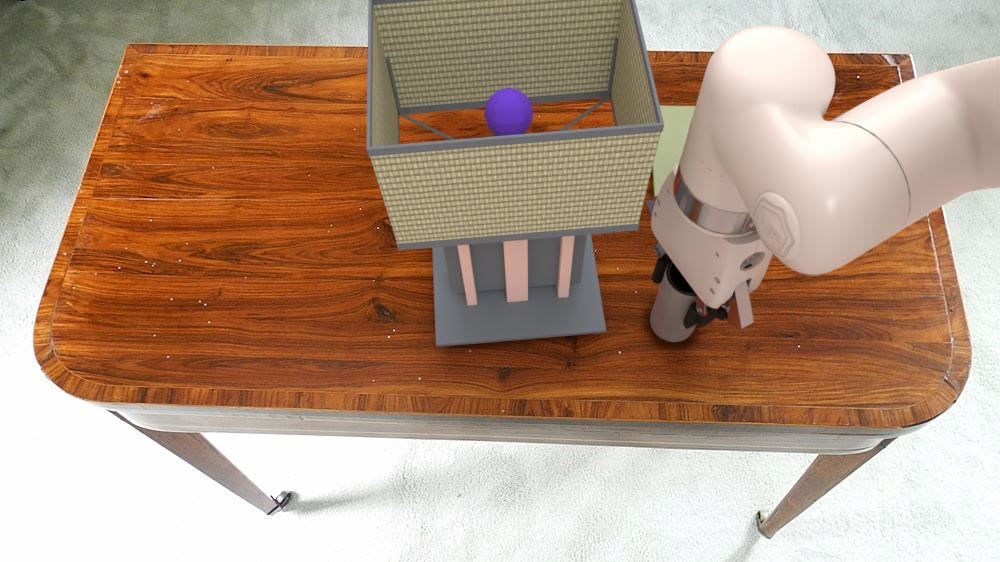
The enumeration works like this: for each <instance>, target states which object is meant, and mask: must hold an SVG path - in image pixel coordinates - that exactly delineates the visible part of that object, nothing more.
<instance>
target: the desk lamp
mask: <svg viewBox="0 0 1000 562" xmlns="http://www.w3.org/2000/svg"><path fill="white" fill-rule="evenodd" d="M367 3H368V5H367V6H368V7H367V73H366V74H367V80H366V81H367V83H366V87H367V88H366V90H367V91H366V152H367V156H368V158H370V162H371V163H372V164H371V165H372V167H373V170H374V174H375V177H376V181H377V184H378V186H379V189H380V193H381V196H382V199H383V203H384V205H385V209H386V212H387V216H388V219H389V220H390V222H389V223H390V225H391V227H392V231H393V234H394V238H395V240H396V248H397V250H398V251H407V250H409V251H410V250H421V249H432V273H433V274H432V275H433V277H432V278H433V302H434V304H433V305H434V327H435V347H437V348H438V347H439V348H440V347H452V346H464V345H474V344H484V343H485V344H487V343H498V342H499V343H500V342H511V341H512V342H513V341H521V340H522V341H523V340H535V339H546V338H557V337H558V338H559V337H568V336H569V337H570V336H580V335H582V336H583V335H593V334H603V333H604V334H605V333H606V332H607V326H606V321H605V314H604V308H603V301H602V297H601V296H602V295H601V289H600V283H599V275H598V270H597V264H596V263H597V262H596V257H595V251H594V245H593V237H592V235H599V234H609V233H612V234H613V233H624V232H634V231H635V232H637V231H639V227H640V219H641V216H642V211H643V206H644V203H645V199H646V195H647V190H648V187H649V183H650V178H651V176H652V175H651V174H652V172H653V169H652V167H653V162H654V158H655V154H656V150H657V146H658V142H659V138H660V134H661V132H663V128H664V122H663V117H662V113H661V109H660V106H661V104H660V101H659V97H658V91H657V88H656V84H655V78H654V75H653V71H652V67H651V62H650V58H649V53H648V49H647V44H646V42H645V41H646V40H645V35H644V32H643V27H642V23H641V19H640V14H639V10H638V6H637V2H636V0H368V2H367ZM591 99H592V100H593V99H601V100H600V101H598V102H597V103H596V104H594V105H593V106H591V107H590V108H589V109H587V110H585V111H584V112H583V113H581V114H580V115H579V116H577V117H576V118H574V119H572V121H570V122H569V123H568V124H566V125H565V126H563V127H562V128H561V129H559V130H554V131H542V132H531V133H530V132H529V133H526V132H527V131H528V129H529V128H530V127H531V125H532V122H533V118H534V108H533V104H544V103H545V104H546V103H556V102H569V101H578V100H579V101H580V100H591ZM608 99H609V101H610V106H611V107H610V108H611V112H612V117H613V122H614V126H601V127H591V128H579V129H569V128H571V127H573V125H575V124H576V123H577V122H579V121H581V120H582V119H584V118H585V117H586V116H588V115H589V114H590V113H592V112H593V111H594V110H596V109H597V108H599V107H600V106H602V105H603V104H604V103H605V102H607V101H608ZM483 108H485V109H484V114H483V116H484V119H485V122H486V125H487V127H488V129H489V131H491V132H492V133H493V135H494V136H484V137H472V138H471V137H470V138H459V139H457V138H454V137H452V136H450V135H448V134H446V133H444V132H442V131H440V130H438V129H435V128H434V127H431V126H429V125H428V124H425V123H423V122H422V121H420V120H417V119H415V118H413V117H411V116H410V115H412V114H425V113H435V112H436V113H438V112H449V111H461V110H473V109H483ZM400 116H401V117H402V118H403V119H406V120H407V121H409V122H411V123H413V124H416V125H418V126H420V127H421V128H424V129H426V130H428V131H430V132H432V133H434V134H437V135H438V136H441V137H443V138H445V139H446V140H435V141H423V142H411V143H400V141H401V140H400V135H401V134H400Z"/></svg>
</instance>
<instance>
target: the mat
mask: <svg viewBox="0 0 1000 562" xmlns="http://www.w3.org/2000/svg"><path fill="white" fill-rule="evenodd" d="M695 106H696V105H660V109H661V113H662V117H663V122H664V128H663V132H661V134H660V138H659V142H658V146H657V150H656V154H655V158H654V162H653V167H652V185H653V187H652V188H653V197H655V196H657V195H658V194H659V192H660V189H661V187H662V185H663V183H664V181H665V180H666V178H667V177H668V175H669V174H670V172H671V171H672V169H673V168H674V167H675V166H676V164H677V163H678V162H679V161H680V158H681V155H682V151H683V148H684V144H685V141H686V137H687V134H688V130H689V127H690V123H691V120H692V117H693V113H694V110H695Z"/></svg>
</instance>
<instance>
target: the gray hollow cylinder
mask: <svg viewBox="0 0 1000 562" xmlns="http://www.w3.org/2000/svg"><path fill="white" fill-rule="evenodd" d="M696 299H697V294H696V293H695V291H694V290H693V289H692V287H691V286H690V285H689V283H688V282H687V281H686V279H685V278H684V276H683V275H682V274H681V272H680V271H679V270H678V268H677V267H676V266H675V264H674V263H673V261H672V260H670V261H669V263H668V265H667V267H666V270H665V273H664V276H663V279H662V282H661V283H660V285H659V288H658V292H657V294H656V298H655V300H654V304H653V305H652V310H651V312H650V317H649V324H650V327H651V330H652V331H653V333H654V334H655V335H656V336H657V337H658V338H659V339H661V340H663V341H665V342H669V343H680V342H684V341H685V340H687V339H688V338H689V337H691V335H692V334H693V332H694V331H695V329H696V327H697V325H698V324H696V325H694V326H692V327H690V328H688V329H686V328H685V326H684V325H683V323H684V322H683V320H684V318H685V316H686V313H687V311H688V309H689V306H690V305H691V304H693V303H695V302H696Z"/></svg>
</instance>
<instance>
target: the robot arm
mask: <svg viewBox="0 0 1000 562" xmlns="http://www.w3.org/2000/svg"><path fill="white" fill-rule="evenodd" d="M835 88H836V72H835V68H834V64H833V62H832V61H831V57H830V56H829V55H828V53H827V51H826V50H825V49H824V48H823V47H822V46H821V45H820V44H819V43H818V42H816V41H815V40H814V39H813V38H811V37H809V35H806V34H804V33H802V32H800V31H798V30H795V29H792V28H789V27H784V26H781V25H780V26H779V25H757V26H751V27H747V28H744V29H742V30H739V31H738V32H736V33H734V34H731V35H730V36H729V37H727V38H726V39H724V40H723V41H722V42H721V44H720V45H719V46H718V47H717V48H716V49H715V50H714V52H713V53H712V55H711V56H710V58H709V60H708V64H707V66H706V68H705V72H704V75H703V79H702V82H701V85H700V90H699V93H698V95H697V96H698V97H697V100H696V104H695V105H694V106H695V110H694V113H693V117H692V120H691V123H690V127H689V130H688V134H687V137H686V141H685V144H684V148H683V151H682V155H681V158H680V161H679V162H678V163H677V164H676V166H675V167H674V168H673V169H672V171H671V172H670V174H669V175H668V177H667V178H666V180H665V181H664V183H663V185H662V187H661V189H660V192H659V194H658V195H657V196H655V197H654V196H653V197H651V198H648V199H646V201H645V203H646V206H647V209H648V211H649V215H650V228H651V232H652V233H653V235H654V237H655V239H656V241H657V242H656V244H655V246H654V247H653V250H654V253H655V255H656V256H657V259H656V262H655V265H654V269H653V272H652V274H651V281H652V282H653V284H654V285H659V284H661V282H662V279H663V276H664V273H665V270H666V267H667V265H668V263H669V261H670V260H672V261H673V263H674V264H675V266H676V267H677V268H678V270H679V271H680V272H681V274H682V275H683V276H684V278H685V279H686V281H687V282H688V283H689V285H690V286H691V287H692V289H693V290H694V291H695V293H696V294H697V299H696V302H695V303H693V304H691V305H690V306H689V309H688V311H687V313H686V316H685V318H684V320H683V322H684V323H683V325H684V326H685V328H686V329H688V328H690V327H692V326H694V325H696V324H697V325H698V326H699V328H703V327H705V326H707V325H708V324H711V323H712V322H713V321H714V320H715V319H717V320H720V321H724V320H726V321H727V323H728V324H730V325H731V326H733V327H735V329H738V330H739V331H741V330H744V329H745V328H747V327H749V326H751V325H753V324H754V323H755V319H754V314H753V307H752V303H751V297H750V294H752V292H754V291H755V290H758V288H759V287H760V285H761V283H762V281H763V279H764V277H765V275H766V273H767V271H768V268H769V265H770V264H771V261H772V257H773V256H774V257H776V258H777V259H778V260H779V261H780V262H781V263H782V264H783V265H784V266H786V267H787V268H789V269H790V270H792V271H795V272H797V273H799V274H802V275H808V276H818V275H825V274H827V273H831V272H833V271H836V270H838V269H839V268H842V267H844V266H846V265H847V264H849V263H851V262H853V261H854V260H856V259H858V258H860V257H861V256H862V255H865V254H866V253H867V252H870V251H871V250H872V249H874V248H876V247H877V246H879V245H881V244H882V243H884V242H885V241H887V240H888V239H890V238H892V237H893V236H895V235H897V234H898V233H900V232H901V231H902V230H905V229H906V228H908V227H910V226H911V225H913V224H915V223H916V222H918V221H920V220H921V219H923V218H925V217H927V216H928V215H929V214H931V213H933V212H934V211H936V210H938V209H939V208H942V207H943V206H945V205H947V204H949V203H950V202H952V201H953V200H955V199H957V198H959V197H960V196H962V195H964V194H967V193H971V192H975V191H982V190H988V189H990V190H991V189H998V188H1000V55H998V56H993V57H989V58H986V59H981V60H978V61H972V62H968V63H964V64H960V65H957V66H953V67H947V68H945V69H940V70H937V71H934V72H930V73H926V74H923V75H920V76H917V77H914V78H911V79H909V80H906V81H904V82H901V83H900V84H897V85H895V86H893V87H890V88H889V89H887V90H885V91H883V92H881V93H879V94H877V95H875V96H873V97H871V98H869V99H867V100H866V101H864V102H862V103H860V104H858V105H856V106H855V107H852V108H851V109H848V110H847V111H845V112H843V113H842V114H840V115H838V116H836V117H834V118H833V119H831V120H825V118H824V116H825V114H826V113H827V110H828V108H829V106H830V103H831V101H832V99H833V96H834V93H835ZM697 325H696V326H697Z"/></svg>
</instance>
